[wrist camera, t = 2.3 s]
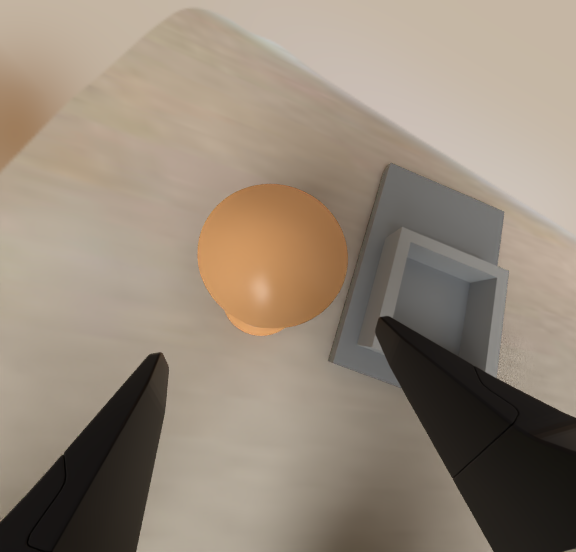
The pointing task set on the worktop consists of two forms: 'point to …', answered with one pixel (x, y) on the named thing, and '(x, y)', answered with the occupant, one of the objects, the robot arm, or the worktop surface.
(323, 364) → the worktop surface
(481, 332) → the housing
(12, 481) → the worktop surface
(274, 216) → the orange knob handle
